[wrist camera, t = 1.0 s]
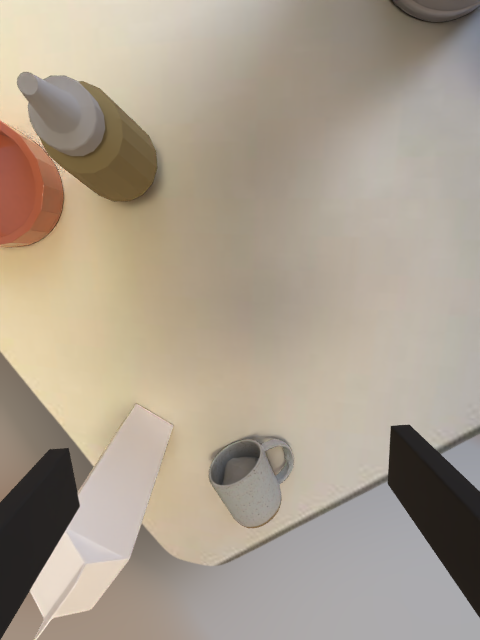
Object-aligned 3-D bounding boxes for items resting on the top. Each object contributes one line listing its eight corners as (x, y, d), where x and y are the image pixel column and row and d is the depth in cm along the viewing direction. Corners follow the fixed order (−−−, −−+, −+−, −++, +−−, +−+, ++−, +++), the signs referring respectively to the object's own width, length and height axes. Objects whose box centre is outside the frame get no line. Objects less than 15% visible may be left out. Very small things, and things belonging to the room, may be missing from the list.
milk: (174, 424, 42) (117, 605, 20) (150, 457, 43) (72, 663, 21) (135, 402, 41) (33, 565, 19) (112, 436, 42) (-10, 628, 20)
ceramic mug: (234, 497, 44) (237, 546, 37) (209, 453, 43) (205, 494, 35) (300, 466, 44) (316, 510, 36) (277, 420, 42) (288, 456, 35)
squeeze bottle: (90, 200, 35) (-47, 145, 18) (96, 124, 34) (-49, -18, 16) (160, 213, 36) (94, 173, 18) (169, 139, 34) (105, 17, 17)
